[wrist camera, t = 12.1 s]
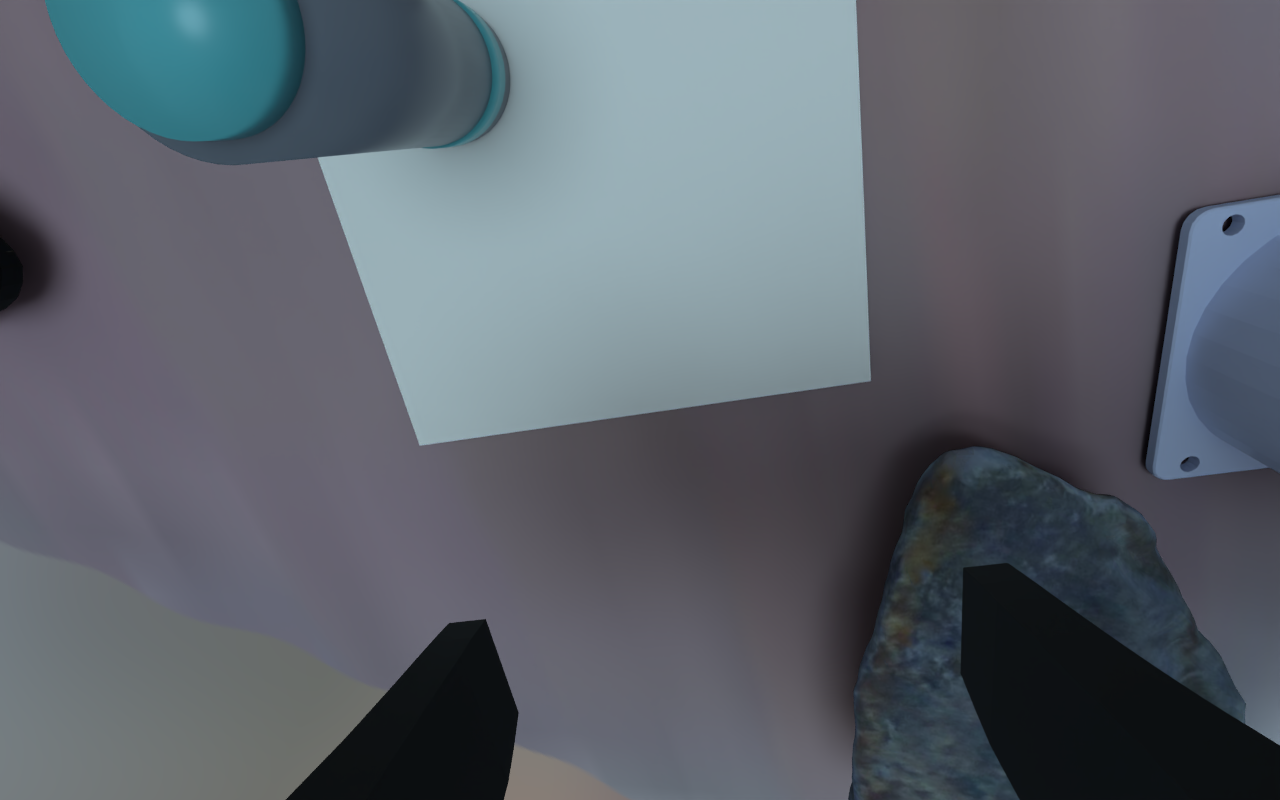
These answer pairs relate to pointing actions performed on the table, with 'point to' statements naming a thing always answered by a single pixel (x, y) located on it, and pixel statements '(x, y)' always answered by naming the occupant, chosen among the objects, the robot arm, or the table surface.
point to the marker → (290, 73)
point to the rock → (932, 616)
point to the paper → (626, 219)
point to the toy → (9, 275)
